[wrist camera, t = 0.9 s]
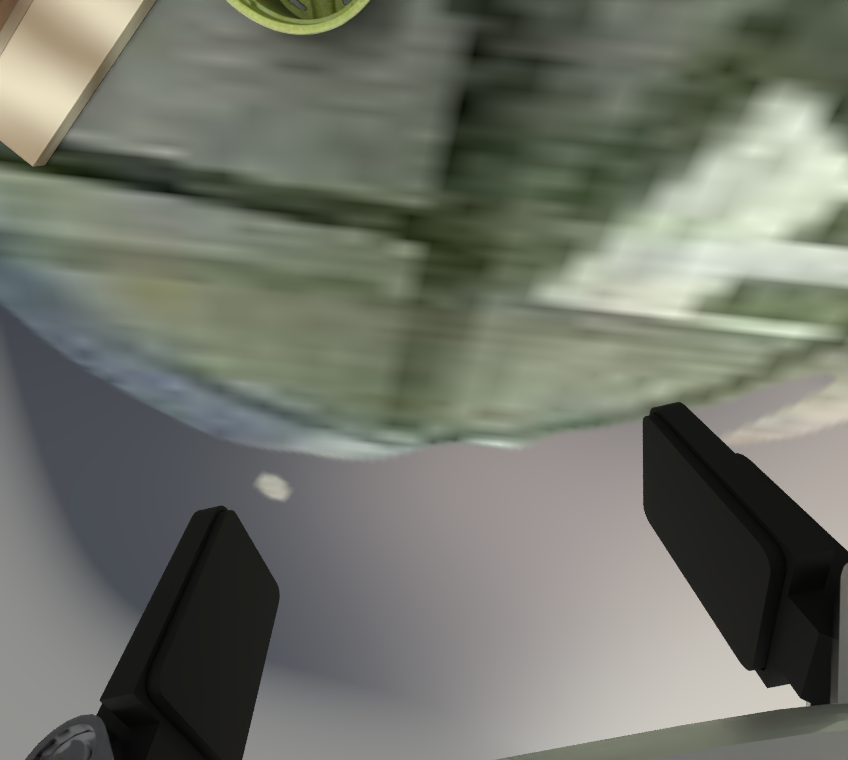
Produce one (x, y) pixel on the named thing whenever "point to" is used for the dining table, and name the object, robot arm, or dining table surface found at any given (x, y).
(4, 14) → the walnut base block
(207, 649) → the robot arm
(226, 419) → the dining table surface
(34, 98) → the plate
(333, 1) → the plant pot
